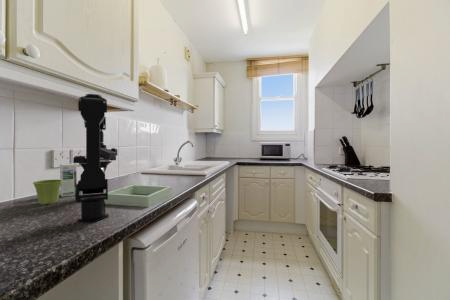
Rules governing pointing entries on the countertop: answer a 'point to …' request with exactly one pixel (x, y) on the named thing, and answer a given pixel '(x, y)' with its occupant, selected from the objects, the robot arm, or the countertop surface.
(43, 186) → the plant pot
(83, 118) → the robot arm
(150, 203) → the green square tray
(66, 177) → the syrup box
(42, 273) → the countertop surface
